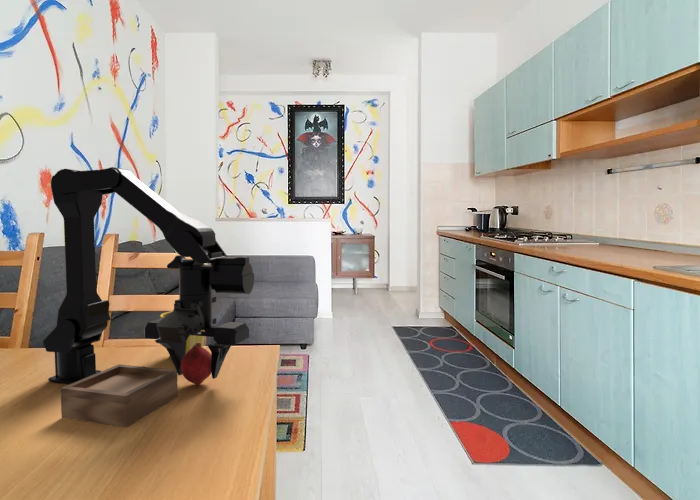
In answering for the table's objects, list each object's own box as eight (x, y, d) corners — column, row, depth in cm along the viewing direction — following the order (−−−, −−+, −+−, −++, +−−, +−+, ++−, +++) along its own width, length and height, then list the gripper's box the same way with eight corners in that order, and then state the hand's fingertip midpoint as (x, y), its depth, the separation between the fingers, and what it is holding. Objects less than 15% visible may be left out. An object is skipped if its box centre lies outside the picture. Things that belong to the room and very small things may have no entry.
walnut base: (61, 417, 70) (60, 388, 70) (119, 389, 82) (118, 364, 81) (126, 427, 67) (125, 396, 67) (177, 396, 79) (176, 370, 78)
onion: (203, 391, 81) (202, 347, 80) (174, 389, 82) (173, 345, 82) (219, 380, 87) (218, 339, 86) (192, 378, 88) (191, 337, 87)
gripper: (120, 297, 78) (123, 386, 79) (217, 303, 73) (218, 397, 74) (163, 288, 89) (165, 366, 90) (250, 292, 84) (250, 375, 85)
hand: (197, 376), depth 84 cm, fingers open, 7 cm apart
